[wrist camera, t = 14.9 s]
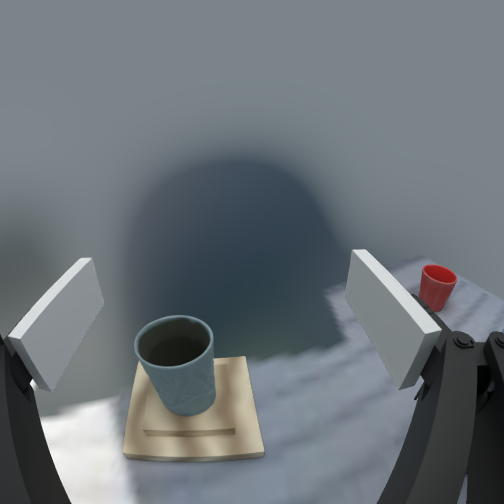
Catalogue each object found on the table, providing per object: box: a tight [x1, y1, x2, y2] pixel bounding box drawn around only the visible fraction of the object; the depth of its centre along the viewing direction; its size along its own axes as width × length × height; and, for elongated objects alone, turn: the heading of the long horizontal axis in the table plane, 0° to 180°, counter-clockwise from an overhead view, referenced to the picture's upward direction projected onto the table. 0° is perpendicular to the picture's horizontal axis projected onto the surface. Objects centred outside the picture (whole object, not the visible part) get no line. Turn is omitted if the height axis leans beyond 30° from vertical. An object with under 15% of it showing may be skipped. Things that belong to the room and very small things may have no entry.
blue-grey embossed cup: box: [134, 315, 216, 416], centre depth 34 cm, size 10×10×12 cm
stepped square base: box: [122, 356, 264, 462], centre depth 37 cm, size 20×20×4 cm
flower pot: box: [419, 265, 457, 312], centre depth 61 cm, size 11×11×10 cm
